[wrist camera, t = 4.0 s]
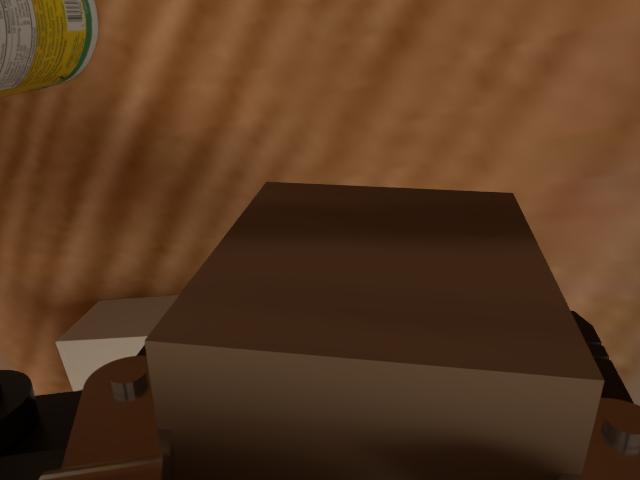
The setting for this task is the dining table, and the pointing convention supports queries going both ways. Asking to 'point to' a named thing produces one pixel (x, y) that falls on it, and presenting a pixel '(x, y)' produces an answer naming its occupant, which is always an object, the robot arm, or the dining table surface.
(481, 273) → the walnut block
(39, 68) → the supplement bottle
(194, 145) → the dining table surface
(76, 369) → the riser block
